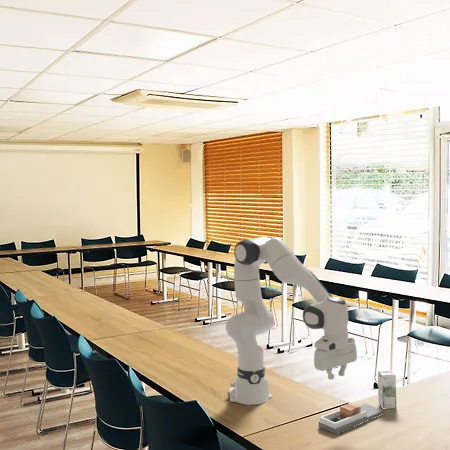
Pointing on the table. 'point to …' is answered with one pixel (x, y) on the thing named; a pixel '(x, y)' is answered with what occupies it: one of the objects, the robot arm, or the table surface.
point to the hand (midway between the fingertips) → (336, 377)
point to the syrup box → (387, 389)
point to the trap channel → (348, 419)
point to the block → (349, 410)
